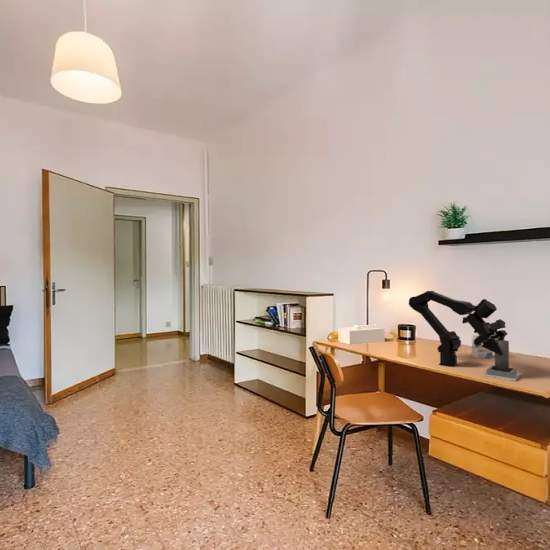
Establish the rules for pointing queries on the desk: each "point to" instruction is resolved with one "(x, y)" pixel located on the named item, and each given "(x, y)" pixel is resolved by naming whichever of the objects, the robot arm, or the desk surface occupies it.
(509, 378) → the square tray
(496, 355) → the grey domed cylinder
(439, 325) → the robot arm
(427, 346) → the desk surface
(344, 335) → the tissue box
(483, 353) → the ink box
